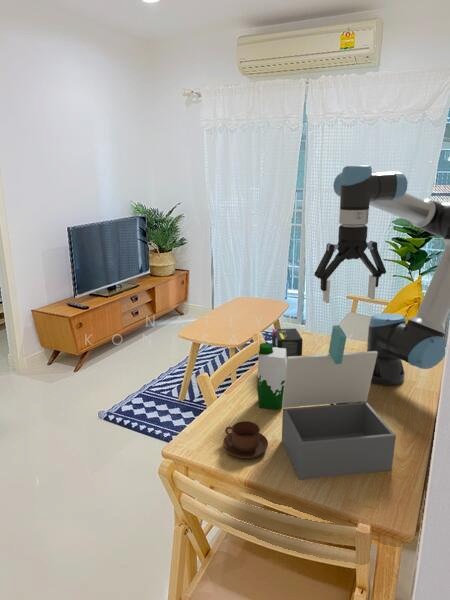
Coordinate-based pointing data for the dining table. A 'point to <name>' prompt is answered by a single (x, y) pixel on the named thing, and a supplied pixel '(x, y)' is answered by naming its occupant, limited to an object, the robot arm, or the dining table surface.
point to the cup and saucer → (245, 440)
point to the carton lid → (329, 375)
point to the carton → (337, 440)
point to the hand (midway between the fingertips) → (348, 299)
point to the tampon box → (288, 341)
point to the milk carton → (271, 376)
